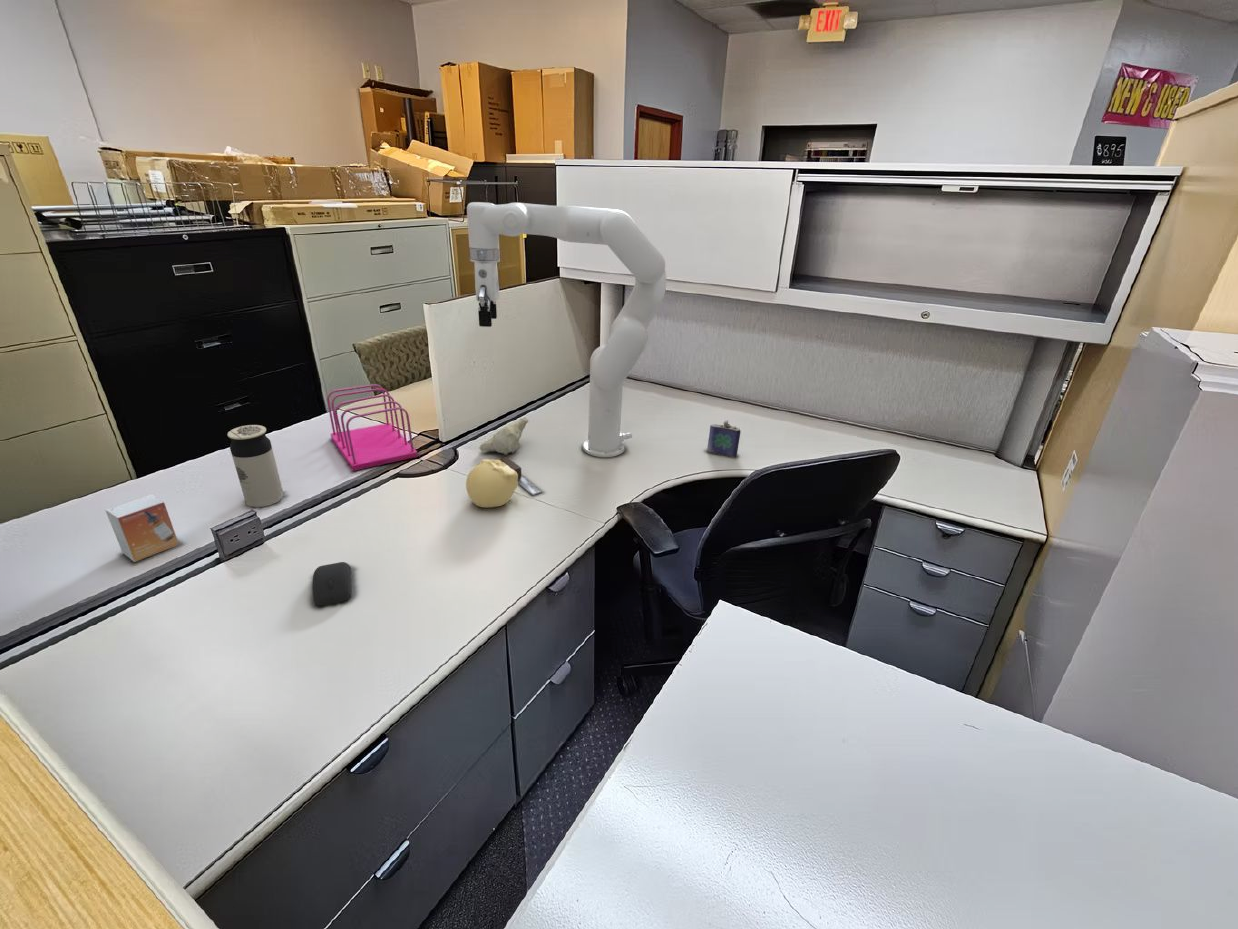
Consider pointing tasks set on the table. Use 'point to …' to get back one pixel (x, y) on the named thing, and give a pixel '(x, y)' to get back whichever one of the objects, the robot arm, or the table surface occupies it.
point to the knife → (521, 479)
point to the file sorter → (371, 434)
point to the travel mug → (255, 465)
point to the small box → (142, 527)
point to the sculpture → (491, 483)
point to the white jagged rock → (505, 438)
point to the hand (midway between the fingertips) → (488, 322)
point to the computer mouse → (332, 584)
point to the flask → (723, 439)
